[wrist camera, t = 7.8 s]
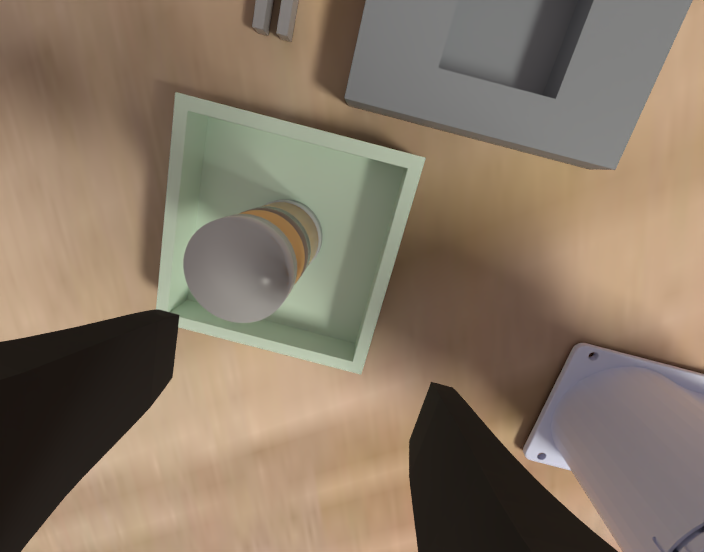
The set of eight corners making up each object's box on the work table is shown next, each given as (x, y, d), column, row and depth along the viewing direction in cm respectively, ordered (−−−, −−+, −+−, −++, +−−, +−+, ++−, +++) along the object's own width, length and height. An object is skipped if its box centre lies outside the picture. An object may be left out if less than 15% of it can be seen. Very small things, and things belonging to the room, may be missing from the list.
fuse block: (686, -55, 15) (734, -89, 13) (589, 169, 17) (616, 169, 15) (401, -132, 15) (404, -178, 13) (348, 105, 17) (344, 98, 15)
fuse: (332, 213, 18) (304, 240, 12) (310, 278, 19) (274, 337, 13) (263, 188, 18) (195, 201, 12) (245, 255, 19) (174, 302, 13)
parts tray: (419, 158, 18) (425, 157, 15) (363, 350, 21) (361, 374, 19) (202, 101, 18) (175, 91, 15) (180, 303, 21) (155, 321, 19)
